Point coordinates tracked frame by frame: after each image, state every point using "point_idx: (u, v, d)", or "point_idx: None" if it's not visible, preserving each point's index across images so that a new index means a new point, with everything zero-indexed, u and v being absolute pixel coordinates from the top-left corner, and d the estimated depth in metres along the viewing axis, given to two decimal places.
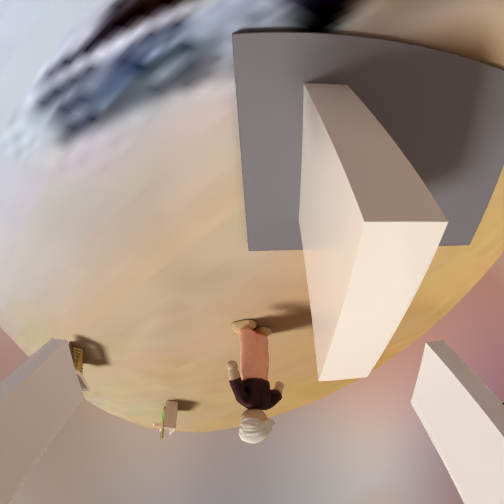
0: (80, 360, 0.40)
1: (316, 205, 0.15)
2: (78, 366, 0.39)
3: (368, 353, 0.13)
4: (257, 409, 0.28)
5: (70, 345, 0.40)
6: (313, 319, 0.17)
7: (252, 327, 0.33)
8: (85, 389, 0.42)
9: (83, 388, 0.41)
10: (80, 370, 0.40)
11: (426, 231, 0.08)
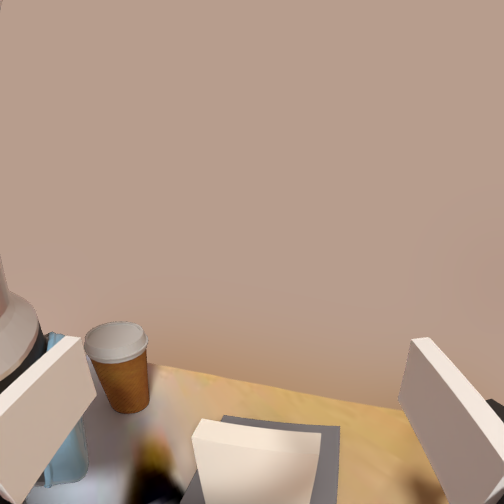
0: None
1: (245, 489, 0.23)
2: None
3: (285, 436, 0.22)
4: None
5: None
6: (308, 479, 0.21)
7: None
8: None
9: None
10: None
11: (203, 423, 0.24)
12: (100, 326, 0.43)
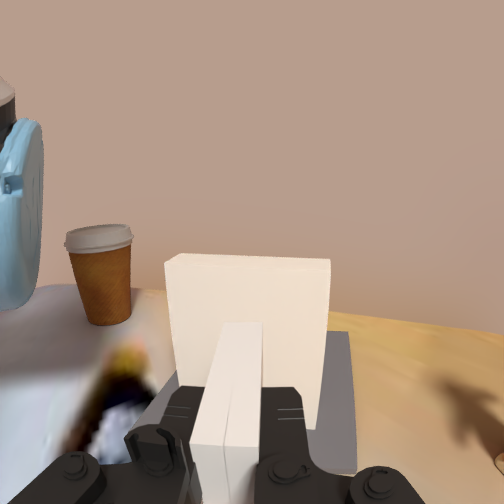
0: None
1: None
2: None
3: (285, 260, 0.20)
4: None
5: None
6: (319, 325, 0.18)
7: (503, 453, 0.14)
8: None
9: None
10: None
11: (181, 255, 0.21)
12: (84, 228, 0.40)
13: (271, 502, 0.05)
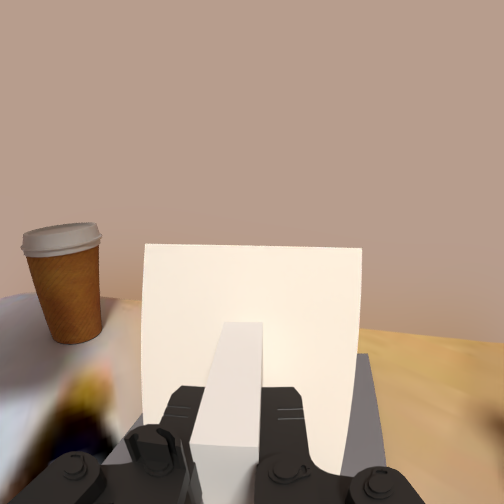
0: None
1: None
2: None
3: None
4: None
5: None
6: (347, 328, 0.13)
7: None
8: None
9: None
10: None
11: None
12: (48, 227, 0.32)
13: (271, 502, 0.05)
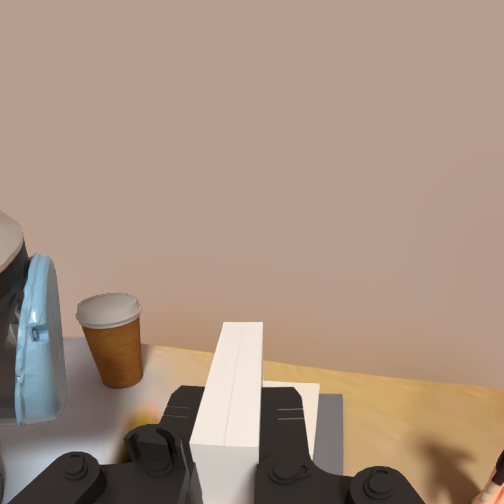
0: None
1: None
2: None
3: None
4: None
5: None
6: (313, 399, 0.32)
7: None
8: None
9: None
10: None
11: None
12: (93, 297, 0.43)
13: (271, 502, 0.05)
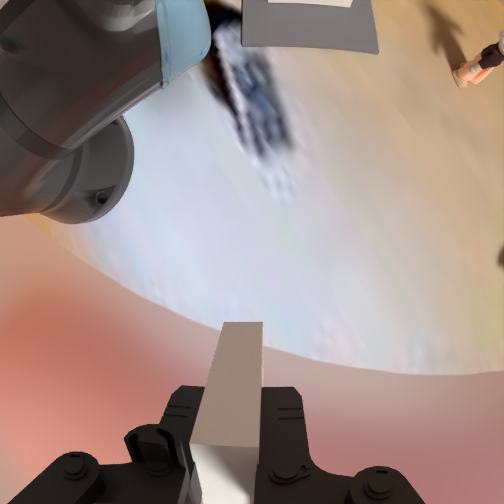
0: None
1: None
2: None
3: None
4: (498, 46, 0.21)
5: None
6: None
7: (458, 71, 0.30)
8: None
9: None
10: None
11: None
12: None
13: (271, 502, 0.05)
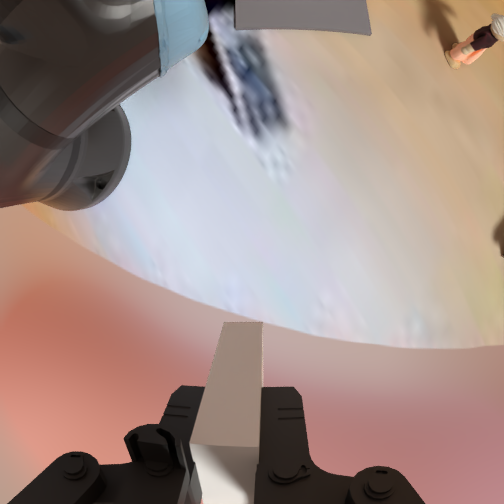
0: None
1: None
2: None
3: None
4: (491, 28, 0.21)
5: None
6: None
7: (450, 51, 0.29)
8: None
9: None
10: None
11: None
12: None
13: (271, 502, 0.05)
